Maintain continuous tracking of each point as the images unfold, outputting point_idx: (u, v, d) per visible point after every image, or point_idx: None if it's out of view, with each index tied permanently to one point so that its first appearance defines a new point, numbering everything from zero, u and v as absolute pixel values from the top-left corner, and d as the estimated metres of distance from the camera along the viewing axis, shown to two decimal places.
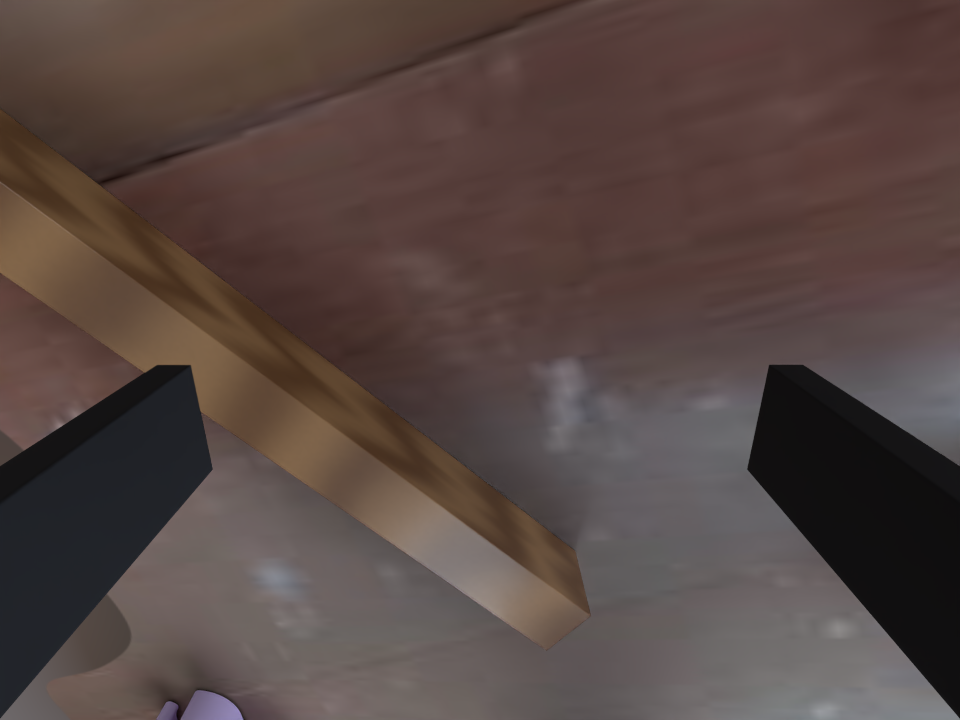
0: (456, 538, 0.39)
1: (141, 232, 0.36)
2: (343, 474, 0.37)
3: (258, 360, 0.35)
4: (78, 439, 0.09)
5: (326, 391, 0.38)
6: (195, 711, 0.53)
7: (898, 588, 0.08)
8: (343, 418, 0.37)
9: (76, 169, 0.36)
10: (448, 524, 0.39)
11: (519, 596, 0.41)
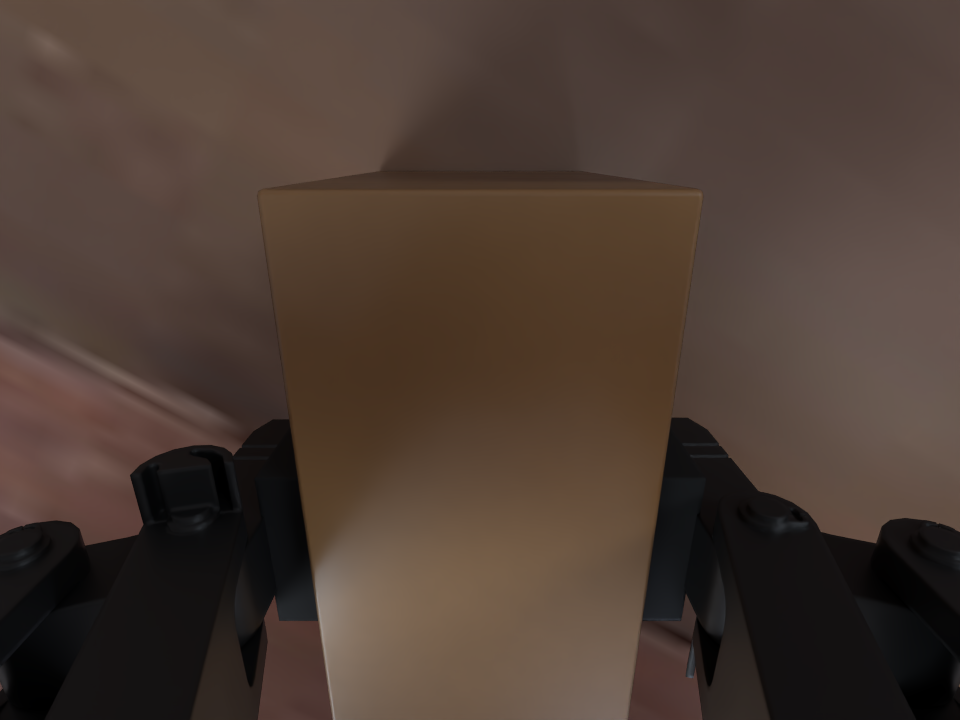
0: None
1: None
2: None
3: None
4: None
5: None
6: None
7: None
8: None
9: None
10: None
11: None
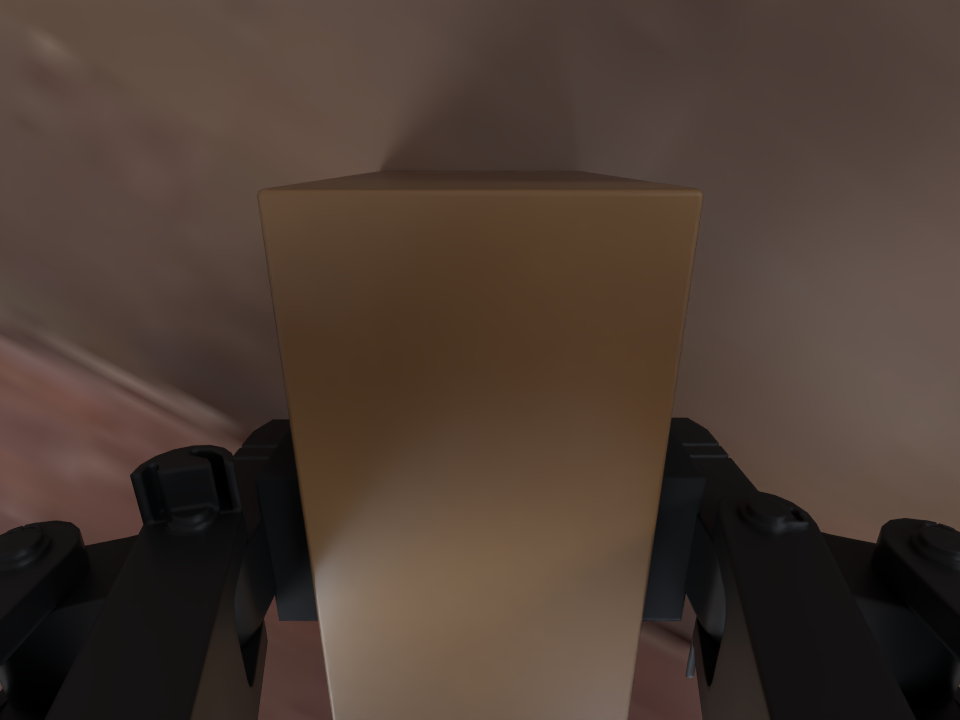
0: None
1: None
2: None
3: None
4: None
5: None
6: None
7: None
8: None
9: None
10: None
11: None
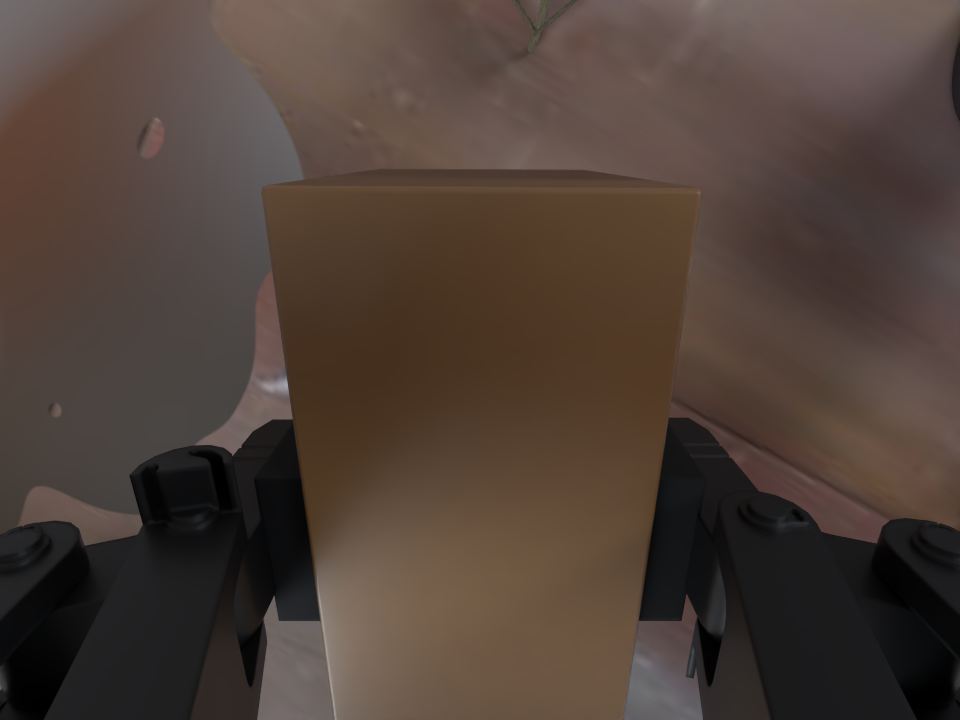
0: None
1: None
2: None
3: None
4: None
5: None
6: None
7: None
8: None
9: None
10: None
11: None
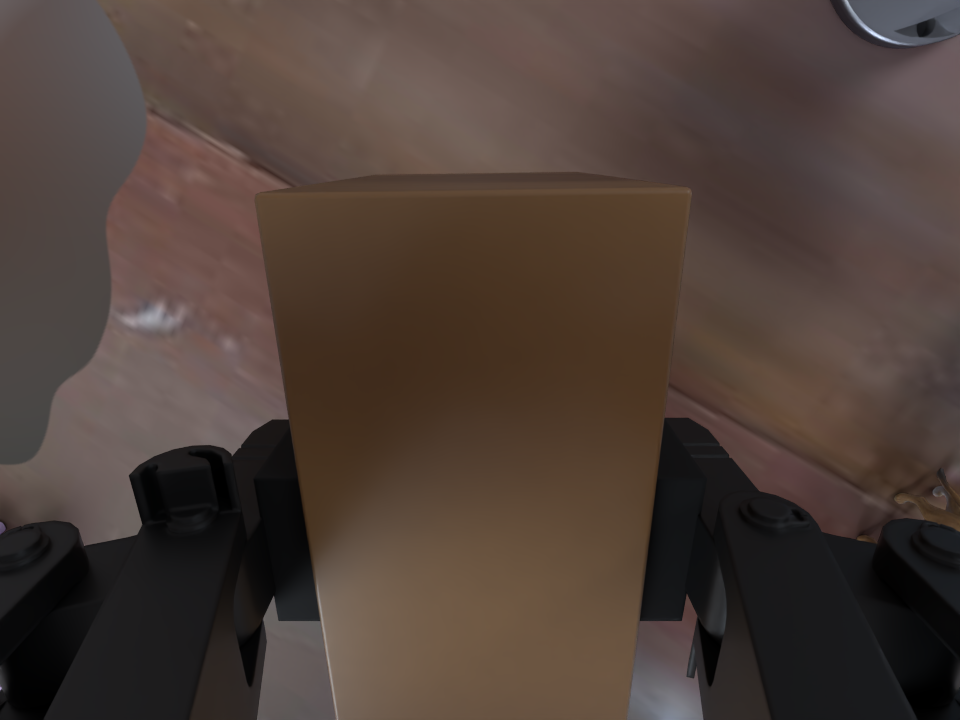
0: None
1: None
2: None
3: None
4: None
5: None
6: None
7: None
8: None
9: None
10: None
11: None
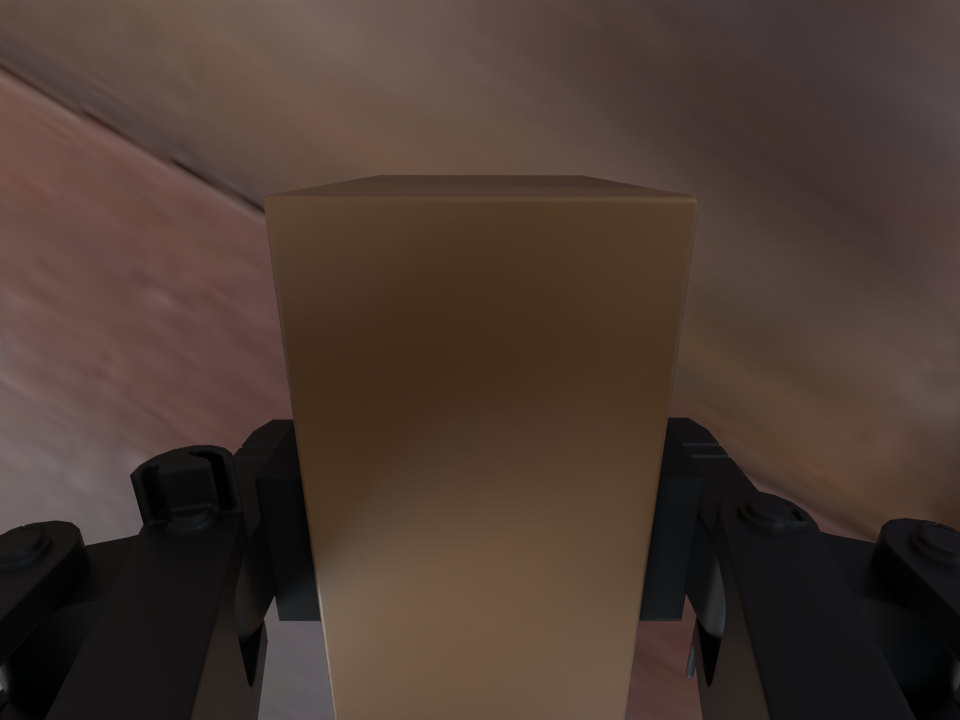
0: None
1: None
2: None
3: None
4: None
5: None
6: None
7: None
8: None
9: None
10: None
11: None
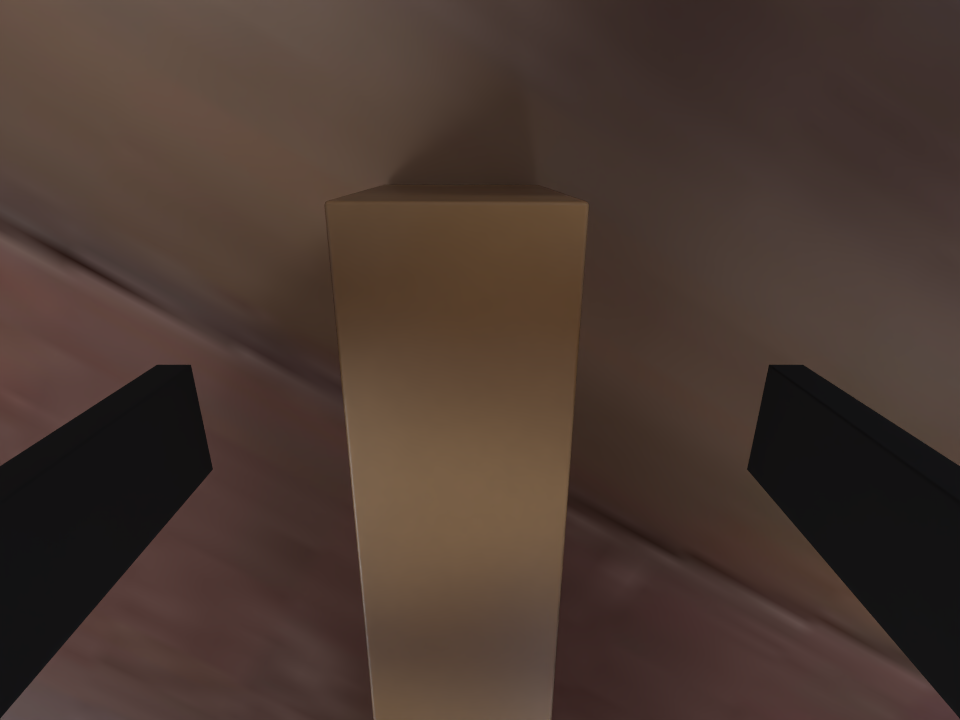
0: None
1: None
2: None
3: None
4: (78, 439, 0.09)
5: None
6: None
7: (897, 589, 0.08)
8: None
9: None
10: None
11: None
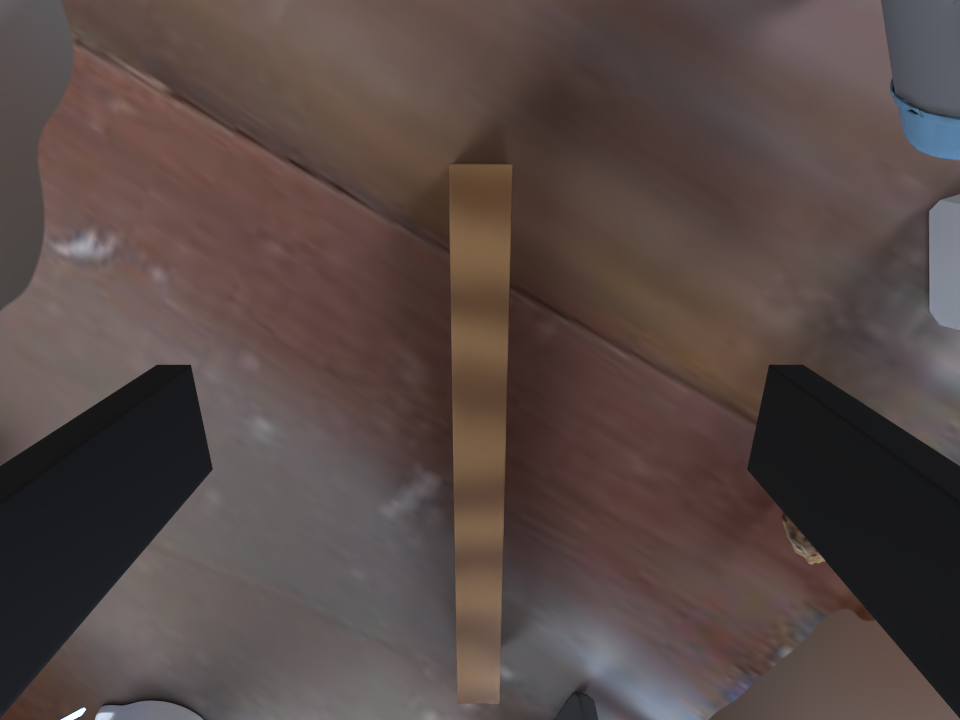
0: (488, 622, 0.59)
1: None
2: (478, 554, 0.55)
3: None
4: (78, 439, 0.09)
5: None
6: None
7: (897, 589, 0.08)
8: None
9: None
10: (493, 613, 0.58)
11: (479, 670, 0.61)
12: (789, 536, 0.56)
